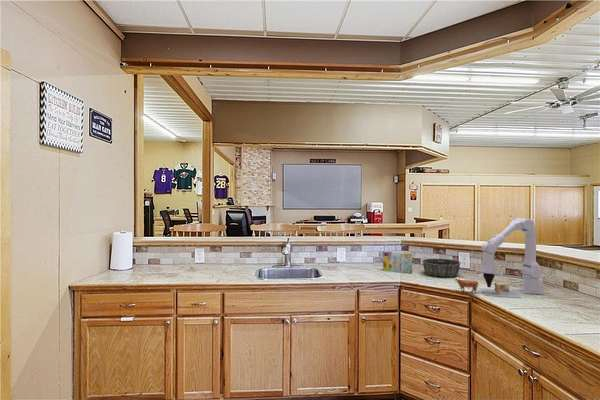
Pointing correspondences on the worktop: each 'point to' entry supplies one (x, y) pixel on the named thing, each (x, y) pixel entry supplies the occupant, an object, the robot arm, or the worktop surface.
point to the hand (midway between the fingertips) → (489, 286)
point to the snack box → (397, 262)
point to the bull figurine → (466, 284)
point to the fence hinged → (496, 288)
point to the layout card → (500, 293)
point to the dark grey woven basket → (441, 267)
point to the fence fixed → (503, 287)
